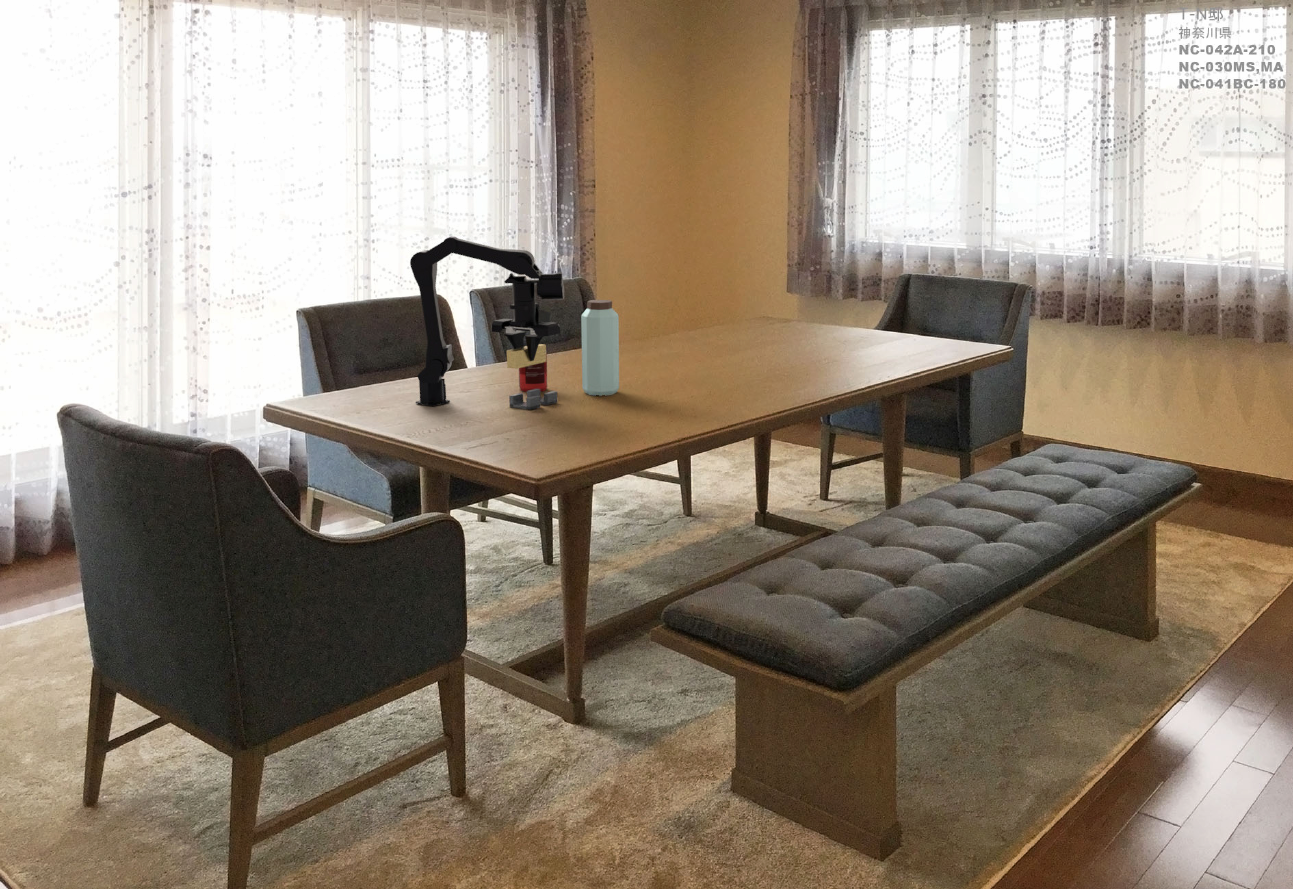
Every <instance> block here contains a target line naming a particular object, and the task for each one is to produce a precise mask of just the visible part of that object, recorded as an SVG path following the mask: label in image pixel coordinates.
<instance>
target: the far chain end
mask: <svg viewBox="0 0 1293 889" xmlns="http://www.w3.org/2000/svg"><path fill="white" fill-rule="evenodd" d="M536 395H537V396H540V405H542V406H543V405H544V406H551V405H554V404H558V391H557V390H551V391H548V392H545V393H543V397H541V392H540V389H533V390H529V391H527V392H526V398H528V397H532V396H536Z"/></svg>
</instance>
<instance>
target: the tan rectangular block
mask: <svg viewBox="0 0 1293 889" xmlns="http://www.w3.org/2000/svg"><path fill="white" fill-rule="evenodd" d="M546 352H547V345H546V344H545V343H544V344H541V343H539V345H538V348H537V352H536V355H535V358H534V361H530V359H529V355H528V349H527V345H525V346H524V347H520V348H516V349H514V348H511V349H506V364H507V365H506V366H507V369H515V370H517V369H518V370H519V368H522V367H526V366H530V365H534V364H539V363H543V362H546Z"/></svg>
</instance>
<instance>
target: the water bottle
mask: <svg viewBox="0 0 1293 889" xmlns="http://www.w3.org/2000/svg"><path fill="white" fill-rule="evenodd" d="M619 320H620V318H619V314H618V313H617V312H616V311H615V310H614V308H613V301H612V300H610V299H590V300H588V301H587V303H586V309H585V310H584V312H583V313H582V314H581V320H580V321H581V323H580V324H581V325H580V326H581V379H582V380H581V381H582V382H581V383H582V390H583V391H584V393H586V394H587V395H589V396H596V395H599V397H601V396H602V395H605V396H612V395H615V394H616V393H617V392H618V391H619V389H620V342H619V341H620V333H619V332H620V324H619V322H620V321H619ZM602 397H603V396H602Z"/></svg>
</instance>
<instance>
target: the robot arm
mask: <svg viewBox="0 0 1293 889" xmlns="http://www.w3.org/2000/svg"><path fill="white" fill-rule="evenodd" d="M451 254H455V255H459V256H463V257H465V258H466V257H467V258H471V259H476V260H480V261H483V262H486V263H491V264H495V265H497V266H500V267H502V268H503V269H505V270H508V271H510V272H511V273H510V274H509V275H508V277H507V278H506V279H505V280H504V284H512V304H510V305H509V309H510V310H513V319H512V318H501V319H500V318H499V319H496V320H493V322H492V323H491V326H490V328H491V332H493V333H502V331H503V330H505V333H504V334H503V335H504V337H506V338H507V340H508V341H509V343H510V345H511V346H512V349H516V348H520V347H525V346H524V343H525V342H526V346H527V349H528V355H529V359H530V361H534V358H535V355H536V352H537V348H538V345H539V344H541V343H540V342H541V341H542V339H543V338H544V337H550V336H555V335H559V334H561V326H560V324H559V323H558V322H551V317H552V313H551V312H548V311H546V310H544V309H541V308H540V304H539V303H537V302H536V294H537V297H539V298H540V299H541V300H542V301H553V300H554V301H556V300H558V301H561V300H564V299H565V284H564V278H563V272H556V273H543V272H542V270H541V269H540V268H539V267H538V266H537V264H536V263H535V262H536V260H535V256H534V254H533V253H532V252H530V251H528V250H525V249H514V248H513V249H512V248H511V249H508V248H505V249H504V248H497V247H494V246H491V245H486V244H481V243H478V242H474V241H470V240H465V239H462V238H458V237H456V236H452V235H451V236H448V237H446V238H445V239H444V240H443V241H441V242H440V243H439V244H437V245H435V246H434V247H432V248H430V249H423V250H420V251H417V252H416V253H414V254H413V256H411V258H410V262H409V265H410V269H411V271H412V273H413V278H414V280H415V282H416V284H417V286H418V289H419V294H420V300H421V307H422V308H421V309H422V314H423V321H424V327H425V335H426V349H425V350H426V351H425V367H424V368H423V369H422V370H421V371H420V372H419V373H418V374H417V379H418V384H419V387H418V388H419V400H418V401H415V404H416V403H418V404H417V405H422V404H423V406H430V407H436V406H440V405H444V404H449V403H451V401H450V399H447V388H446V383H445V382H446V381H445V378H444V376H445V374H446V373H447V372H448V371H449V369H450V368H451V367H452V366H453V365H452V364H453V361H454V360H455V358H454V356H453V346H452V345H453V344H447V343H446V341H445V339H444V335H443V327H442V322H441V314H440V308H439V300H438V293H437V285H436V284H437V275H438V263H439V262H440V261H442V260H443V259H445V258H447V257H448V256H450V255H451ZM514 273H515V274H516V275H517V276H516V275H514ZM527 277H528V278H529V279H527ZM535 284H536V286H535ZM527 332H529V334H527ZM526 334H527V335H526ZM524 339H525V341H524Z"/></svg>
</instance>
